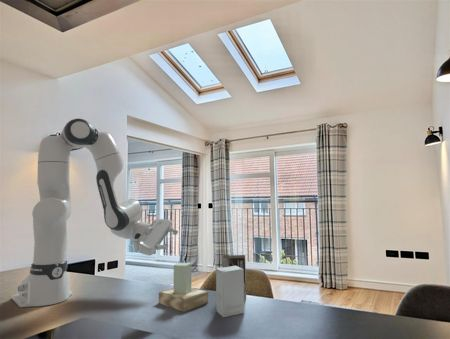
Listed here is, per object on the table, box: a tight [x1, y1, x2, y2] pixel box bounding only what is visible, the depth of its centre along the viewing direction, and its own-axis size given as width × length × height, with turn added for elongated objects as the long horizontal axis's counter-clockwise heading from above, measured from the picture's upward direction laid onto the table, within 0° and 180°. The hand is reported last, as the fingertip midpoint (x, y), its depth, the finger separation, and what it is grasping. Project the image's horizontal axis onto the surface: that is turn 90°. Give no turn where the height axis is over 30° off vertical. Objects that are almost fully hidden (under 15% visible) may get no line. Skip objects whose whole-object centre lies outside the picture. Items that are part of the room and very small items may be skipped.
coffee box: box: [221, 254, 247, 302], centre depth 116 cm, size 9×6×16 cm
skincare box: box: [215, 266, 245, 318], centre depth 100 cm, size 8×6×15 cm
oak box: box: [158, 287, 209, 313], centre depth 110 cm, size 14×12×4 cm
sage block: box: [173, 262, 192, 294], centre depth 111 cm, size 5×5×10 cm
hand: (172, 239), depth 129 cm, fingers open, 8 cm apart
